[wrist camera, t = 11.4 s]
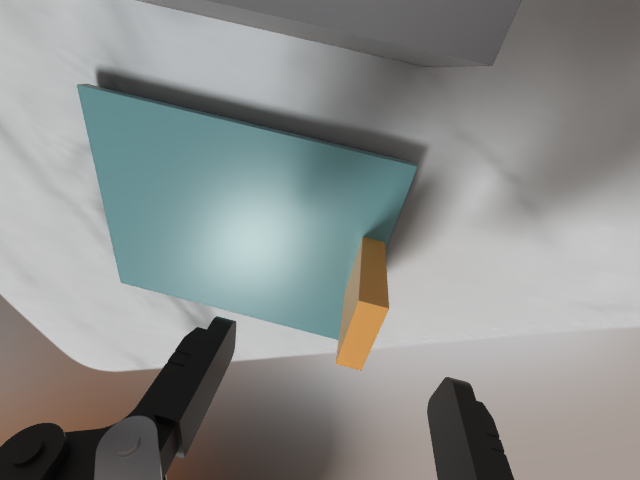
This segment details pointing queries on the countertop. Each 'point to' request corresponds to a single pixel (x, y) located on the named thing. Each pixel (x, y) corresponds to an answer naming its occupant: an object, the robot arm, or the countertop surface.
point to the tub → (377, 25)
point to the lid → (247, 216)
